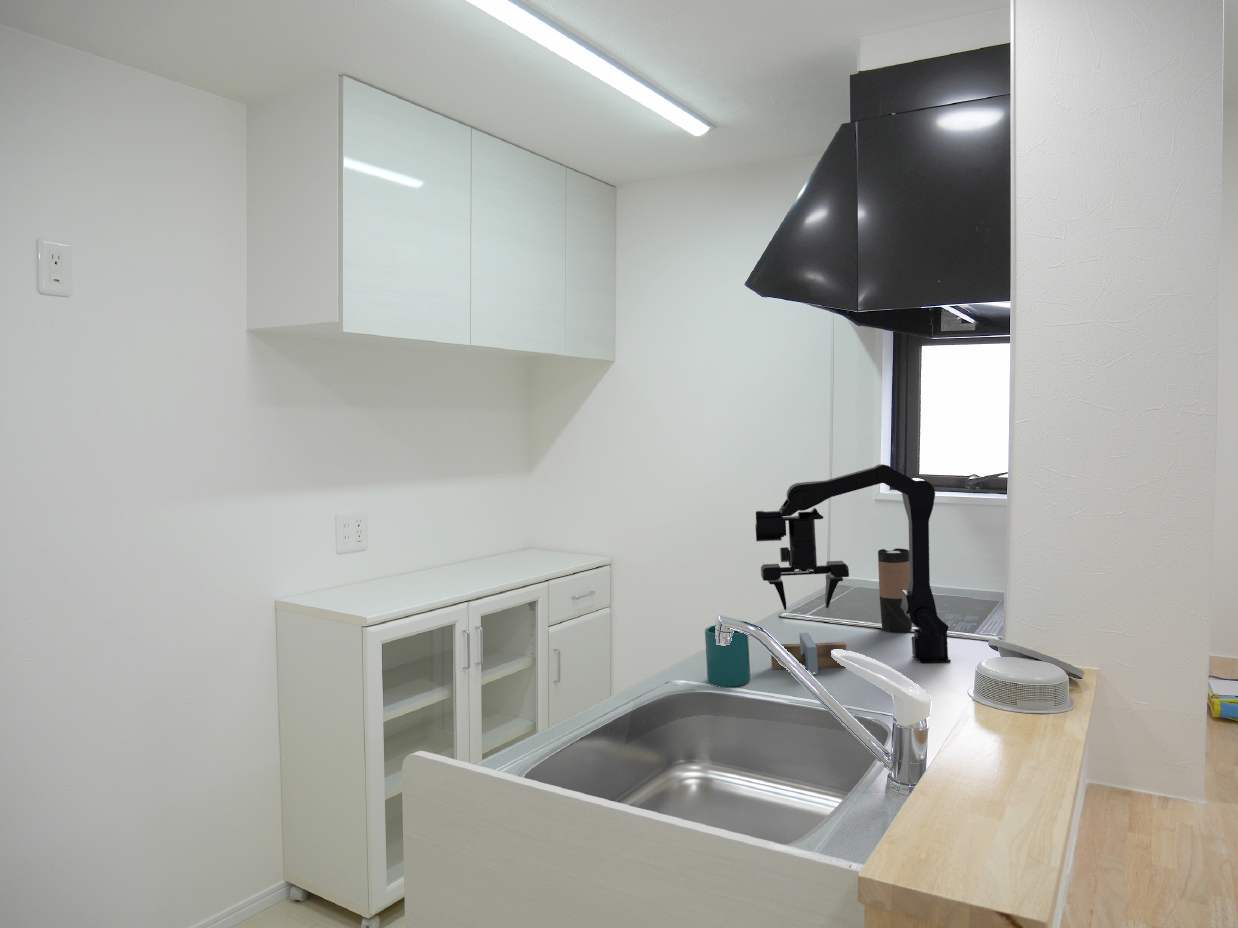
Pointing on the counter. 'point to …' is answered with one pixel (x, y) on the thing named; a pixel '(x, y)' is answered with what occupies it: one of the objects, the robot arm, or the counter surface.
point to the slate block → (809, 652)
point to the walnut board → (822, 654)
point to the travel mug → (893, 589)
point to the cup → (727, 660)
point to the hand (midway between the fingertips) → (806, 608)
